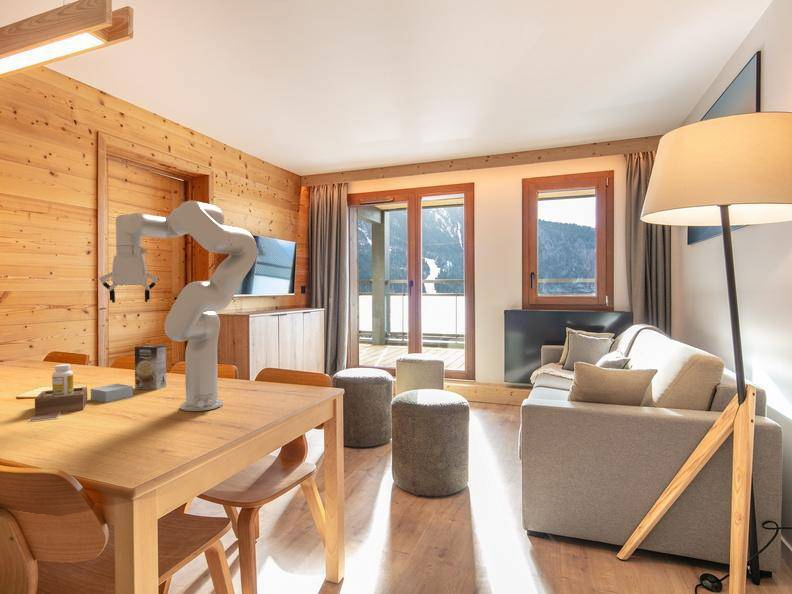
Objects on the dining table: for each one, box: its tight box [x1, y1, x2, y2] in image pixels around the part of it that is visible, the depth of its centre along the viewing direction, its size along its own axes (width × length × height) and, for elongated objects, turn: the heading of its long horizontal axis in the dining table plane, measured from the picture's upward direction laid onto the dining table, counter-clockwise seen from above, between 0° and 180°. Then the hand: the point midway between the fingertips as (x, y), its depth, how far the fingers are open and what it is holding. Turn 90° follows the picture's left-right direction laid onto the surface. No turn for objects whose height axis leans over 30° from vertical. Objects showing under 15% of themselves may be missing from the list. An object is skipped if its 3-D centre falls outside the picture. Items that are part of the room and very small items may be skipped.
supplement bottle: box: [51, 363, 74, 397], centre depth 144 cm, size 5×5×10 cm
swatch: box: [27, 412, 62, 423], centre depth 134 cm, size 7×7×1 cm
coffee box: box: [134, 344, 167, 391], centre depth 172 cm, size 9×6×16 cm
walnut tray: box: [34, 386, 88, 414], centre depth 144 cm, size 12×12×5 cm
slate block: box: [90, 383, 134, 404], centre depth 157 cm, size 9×9×4 cm
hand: (130, 302), depth 154 cm, fingers open, 9 cm apart
